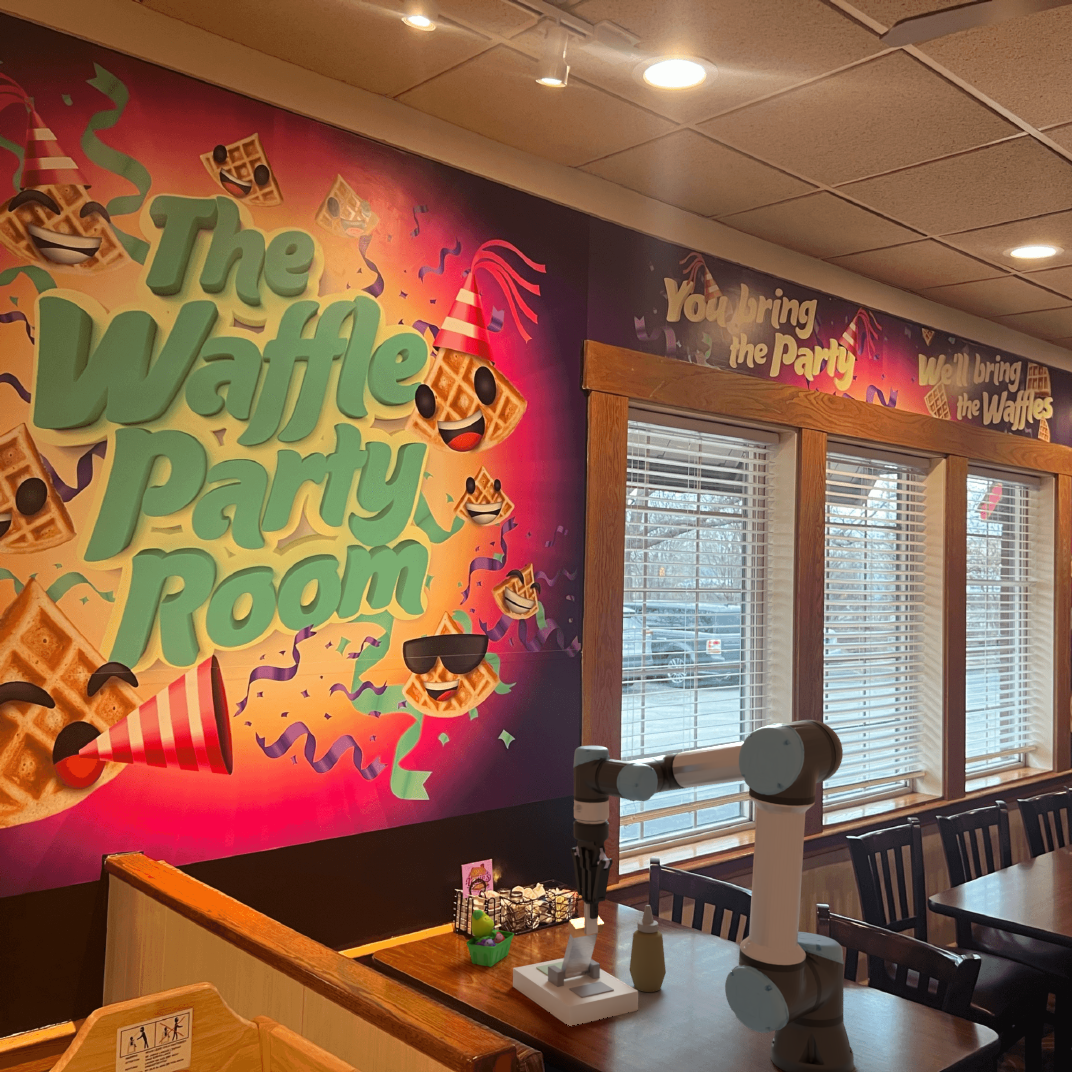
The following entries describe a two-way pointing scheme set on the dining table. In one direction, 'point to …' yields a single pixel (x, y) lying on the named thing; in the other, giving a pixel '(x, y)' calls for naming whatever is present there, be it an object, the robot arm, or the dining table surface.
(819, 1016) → the robot arm
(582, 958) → the lever
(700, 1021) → the dining table surface
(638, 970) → the squeeze bottle
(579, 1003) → the switch panel
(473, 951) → the fruit basket
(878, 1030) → the dining table surface
